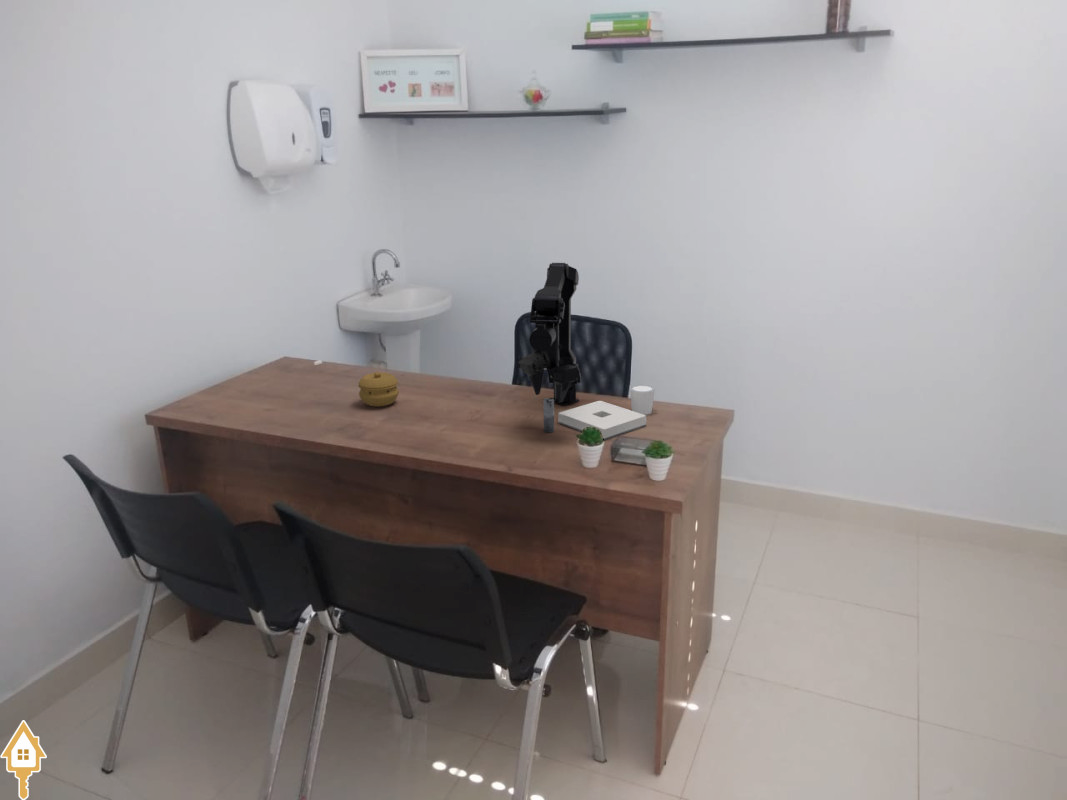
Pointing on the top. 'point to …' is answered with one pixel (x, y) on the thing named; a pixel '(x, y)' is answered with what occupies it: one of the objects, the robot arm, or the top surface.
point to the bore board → (602, 419)
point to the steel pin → (548, 415)
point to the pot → (378, 389)
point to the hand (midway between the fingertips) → (548, 398)
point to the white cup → (642, 399)
